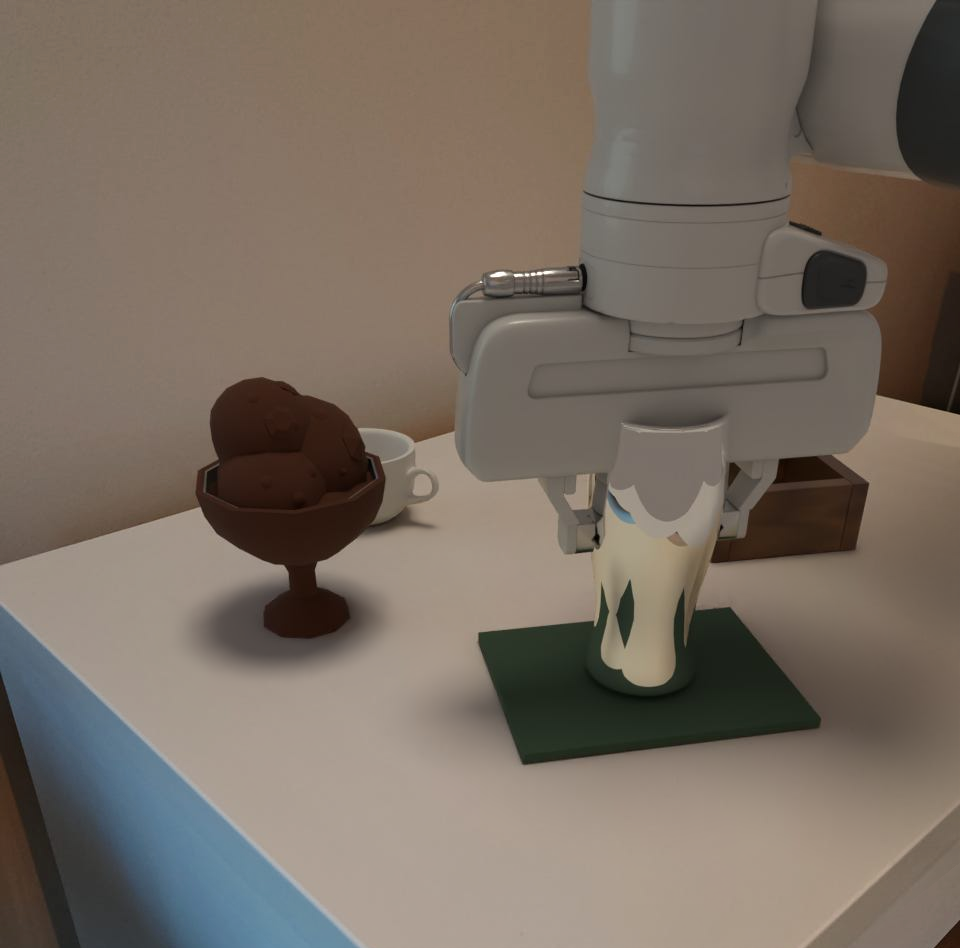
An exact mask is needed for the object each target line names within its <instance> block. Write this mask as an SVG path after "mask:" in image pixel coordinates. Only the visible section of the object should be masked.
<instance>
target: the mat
mask: <svg viewBox="0 0 960 948" xmlns="http://www.w3.org/2000/svg"><path fill="white" fill-rule="evenodd" d="M594 621H595V620H586V621H577V622H576V621H575V622H567V623H558V624H550V625H549V624H546V625H538V626H529V627H528V626H527V627H518V628H508V629H500V630H499V629H497V630H488V631H480V632H477V633H478V634H477V640H478V644H479V647H480V649H481V652H482V656H483V658H484V660H485V663H486V667H487V669H488V671H489V674H490V677H491V679H492V683H493V685H494V687H495V690H496V693H497V696H498V699H499V702H500V704H501V707H502V710H503V713H504V715H505V718H506V721H507V723H508V726H509V730H510V733H511V735H512V738H513V740H514V743H515V746H516V749H517V751H518V754H519V756H520V757H519V758H520V760H521V762H522V764H533V763H540V762H549V761H557V760H565V759H572V758H581V757H582V758H583V757H589V756H598V755H606V754H614V753H620V752H629V751H636V750H644V749H654V748H662V747H670V746H677V745H679V746H680V745H685V744H694V743H702V742H710V741H711V742H712V741H719V740H726V739H727V740H728V739H734V738H742V737H750V736H758V735H768V734H774V733H784V732H792V731H800V730H808V729H816V728H820V725H821V720H822V717H821V716H820V715H819V714H818V712H817V711H816V710H815V709H814V707H813V706H812V705H811V704H810V702H809V701H808V700H807V698H806V697H805V696H804V695H803V694H802V693H801V692H800V690H799V689H798V687H796V686H795V685H794V683H793V682H792V681H791V679H790V678H789V677H788V676H787V674H786V673H785V672H784V671H783V670H782V668H781V667H780V666H779V665H778V663H776V661H775V660H774V658H773V657H772V656H771V655H770V654H769V652H768V651H767V650H766V649H765V647H764V646H763V645H762V643H760V641H759V640H758V639H757V637H756V636H754V634H753V632H752V631H751V630H750V629H749V628H748V627H747V626H746V624H745V623H744V622H743V620H742V619H741V618H740V616H738V614H737V613H736V612H735V611H734V610H733V609H732V607H731V606H725V607H716V608H705V609H695V613H694V620H693V641H694V651H695V673H694V676H693V678H692V680H691V681H690V682H689V683H688V684H687V685H686V686H685V687H683V688H681V689H679V690H677V691H675V692H672V693H669V694H665V695H659V696H634V695H628V694H623V693H619V692H616V691H613V690H611V689H609V688H607V687H605V686H603V685H601V684H600V683H598V682H597V681H596V680H595V679H594V678H593V677H592V676H591V675H590V674H589V672H588V670H587V667H586V662H585V660H586V653H587V648H588V645H589V641H590V637H591V634H592V630H593V626H594Z"/></svg>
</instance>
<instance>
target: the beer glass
mask: <svg viewBox="0 0 960 948" xmlns="http://www.w3.org/2000/svg"><path fill="white" fill-rule="evenodd" d="M730 420H731V414H724V415H723V416H722V417H720V418H719V419H717V420H715V421H712V422H709V423H705V424H700V425H694V426H683V427H660V426H649V425H642V424H636V423H632V422H627V421H623V422H621V432H620V440H619V446H618V453H617V459H616V462H615V465H614V468H613V470H612V471H611V472H608V473H595V474H586V484H585V485H586V486H585V487H586V489H585V509H586V511H587V514H588V517H590V518H591V519H592V520H593V521H594V522H595V523H596V525H595V536H594V537H593V539H592V540H593V542H594V550H593V552H590V558H591V566H592V573H593V580H594V590H595V615H594V620H593V621H594V626H593V630H592V634H591V637H590V641H589V645H588V648H587V653H586V660H585V662H586V667H587V670H588V672H589V674H590V675H591V676H592V677H593V678H594V679H595V680H596V681H597V682H598V683H600V684H601V685H603V686H605V687H607V688H609V689H611V690H613V691H616V692H619V693H623V694H628V695H634V696H659V695H665V694H669V693H672V692H675V691H677V690H679V689H681V688H683V687H685V686H686V685H687V684H688V683H689V682H690V681H691V680H692V678H693V676H694V673H695V651H694V641H693V620H694V613H695V610H696V607H697V602H698V599H699V597H700V593H701V590H702V586H703V584H704V581H705V577H706V575H707V571H708V568H709V566H710V562H711V561H710V560H711V557H712V554H713V550H714V547H715V544H716V541H717V537H718V533H719V530H720V526H721V522H722V518H723V513H724V507H725V501H726V495H727V487H728V476H729V465H730V463H729V438H730Z"/></svg>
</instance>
